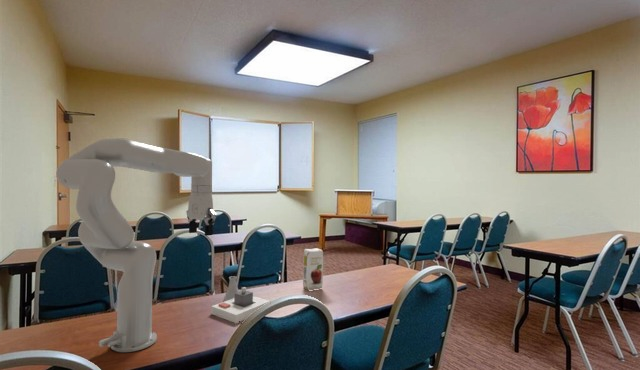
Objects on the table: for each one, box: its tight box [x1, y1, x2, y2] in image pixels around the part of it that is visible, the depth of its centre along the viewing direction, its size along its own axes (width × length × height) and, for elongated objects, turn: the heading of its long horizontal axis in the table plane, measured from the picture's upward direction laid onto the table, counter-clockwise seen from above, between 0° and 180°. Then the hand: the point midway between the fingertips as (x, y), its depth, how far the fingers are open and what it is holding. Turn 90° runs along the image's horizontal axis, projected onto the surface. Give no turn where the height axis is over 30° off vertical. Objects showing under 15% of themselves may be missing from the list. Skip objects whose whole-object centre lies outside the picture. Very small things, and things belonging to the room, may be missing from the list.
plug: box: [234, 286, 254, 307], centre depth 134 cm, size 5×5×8 cm
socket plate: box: [210, 295, 271, 324], centre depth 133 cm, size 18×14×4 cm
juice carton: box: [302, 247, 324, 291], centre depth 163 cm, size 8×9×19 cm
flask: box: [222, 275, 239, 302], centre depth 145 cm, size 7×7×10 cm
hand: (200, 233), depth 132 cm, fingers open, 9 cm apart
